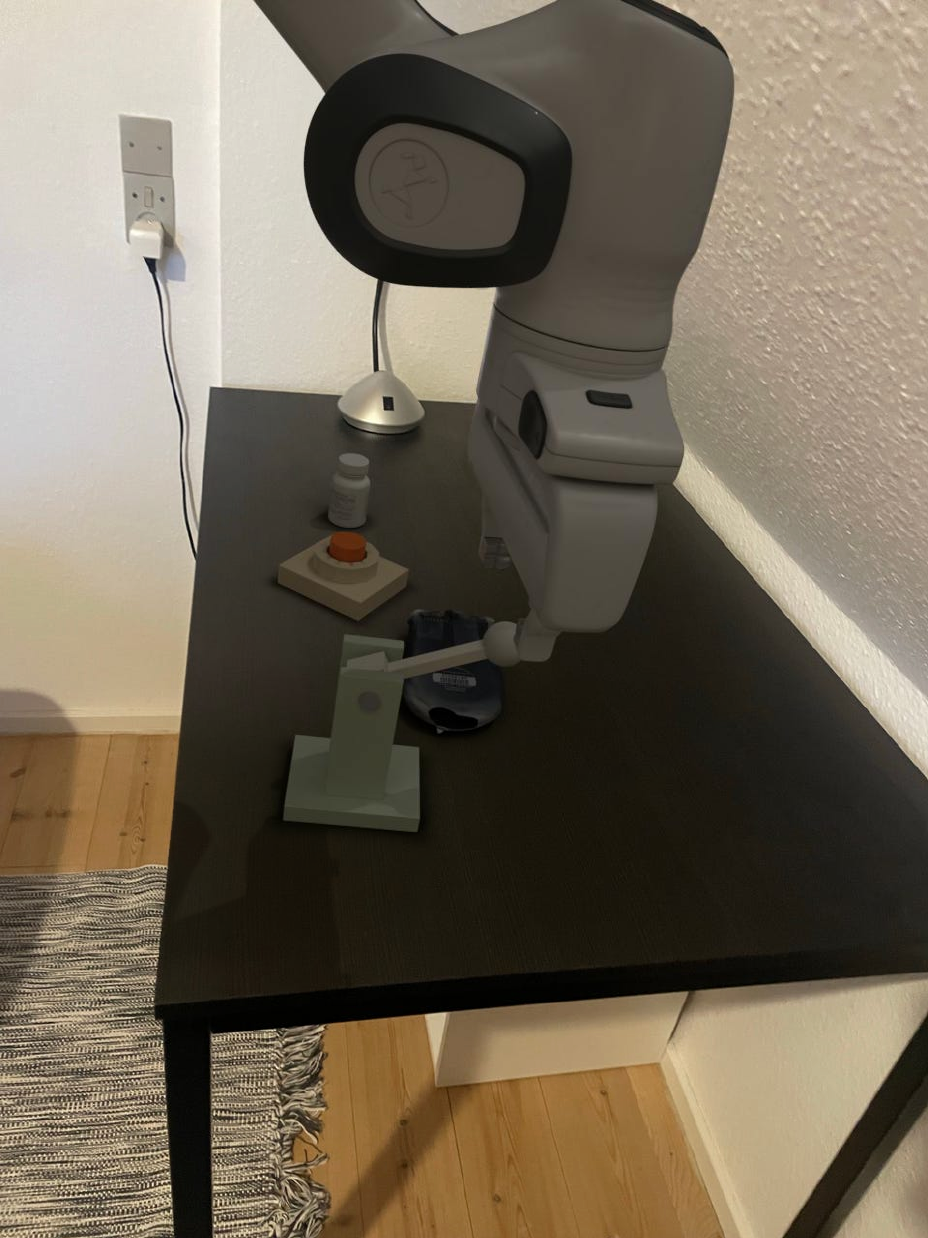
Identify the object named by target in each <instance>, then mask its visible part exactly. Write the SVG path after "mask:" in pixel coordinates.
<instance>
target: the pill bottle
mask: <svg viewBox="0 0 928 1238" xmlns="http://www.w3.org/2000/svg"><path fill="white" fill-rule="evenodd" d="M369 468H370V460H369V458H367V457H366V456H364V455H362V454H358V453H353V452H349V453H343V454H340V455H339V457H338V460H337V468H336V470H337V471H336V472H335V473H334V474H333V475H332V477H331V483H330V493H329V503H328V513H327V514H328V515H327V518H328V520H329V521H330V522H331V523H332V524H333V525H334V526H337V527H340V528H344V529H356V528H359V527H362V526H364V525H365V523H366V520H367V514H368V505H369V499H370V491H371V480H370V478H369V476H368V473H369Z"/></svg>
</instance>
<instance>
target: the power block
mask: <svg viewBox="0 0 928 1238" xmlns="http://www.w3.org/2000/svg"><path fill="white" fill-rule="evenodd" d="M332 535H333V534H331V535H329V536H327V537H324V538H323V539H321V540H319V541H317V542H316V543H315V544H313V545H311V546H309V547H308V548H306V549H304V550H303V551H301V552H299V553H297V554H296V555H293V556H292V557H291V558H290V557H289V558H288V559H287V560H285V561H283V562H281V563H280V564H278V574H277V584H279V585H281V586H283V587H286V588H287V589H290V590H292V591H294V592H295V593H298V594H299V595H302V596H303V597H307V598H308V599H310V600H312V601H315V602H317V603H319V604H321V605H323V606H324V607H327V608H329V609H331V610H334V611H335V612H338V613H340V614H341V615H343V616H346V617H348V618H350V619H353V620H354V621H357V622H359V621H361V620H362V619H364V618H365V617H366V616H367V615H369V614H370V613H372V612H373V611H374V610H376V609H378V608H379V607H380V606H381V605H383V604H384V603H386V602H387V601H388V600H390V599H392V598H393V597H394V596H396V595H397V594H398V593H400V592H401V591H402V590H404V589H405V588H407V583H408V577H409V570H410V569H409V568H406V567H404V566H403V565H400V564H397V563H395V562H394V561H391V560H389V559H386V558H384V557H382V556H380V552H379V550H377V548H376V547H375V546H374V545H373V544H372V543H370V542H368V541H366V549H365V556H364V559H363V560H362V561H361V562H354V563H347V562H340V561H338V560H336V559H333V558H331V556H330V555H329V549H330V540H331V537H332Z"/></svg>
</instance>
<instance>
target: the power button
mask: <svg viewBox="0 0 928 1238" xmlns="http://www.w3.org/2000/svg"><path fill="white" fill-rule="evenodd" d="M331 535H332V537H331V540H330V549H329V555H330V556H331V558H333V559H336V560H338V561H340V562H347V563H354V562H361V561H362V560H363V559H364V556H365V549H366V542H367V540H366V538H365V537H364V536H362V535H361V534H359V533H355V532H352V531H338V532H336V533H334V534H331Z"/></svg>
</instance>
